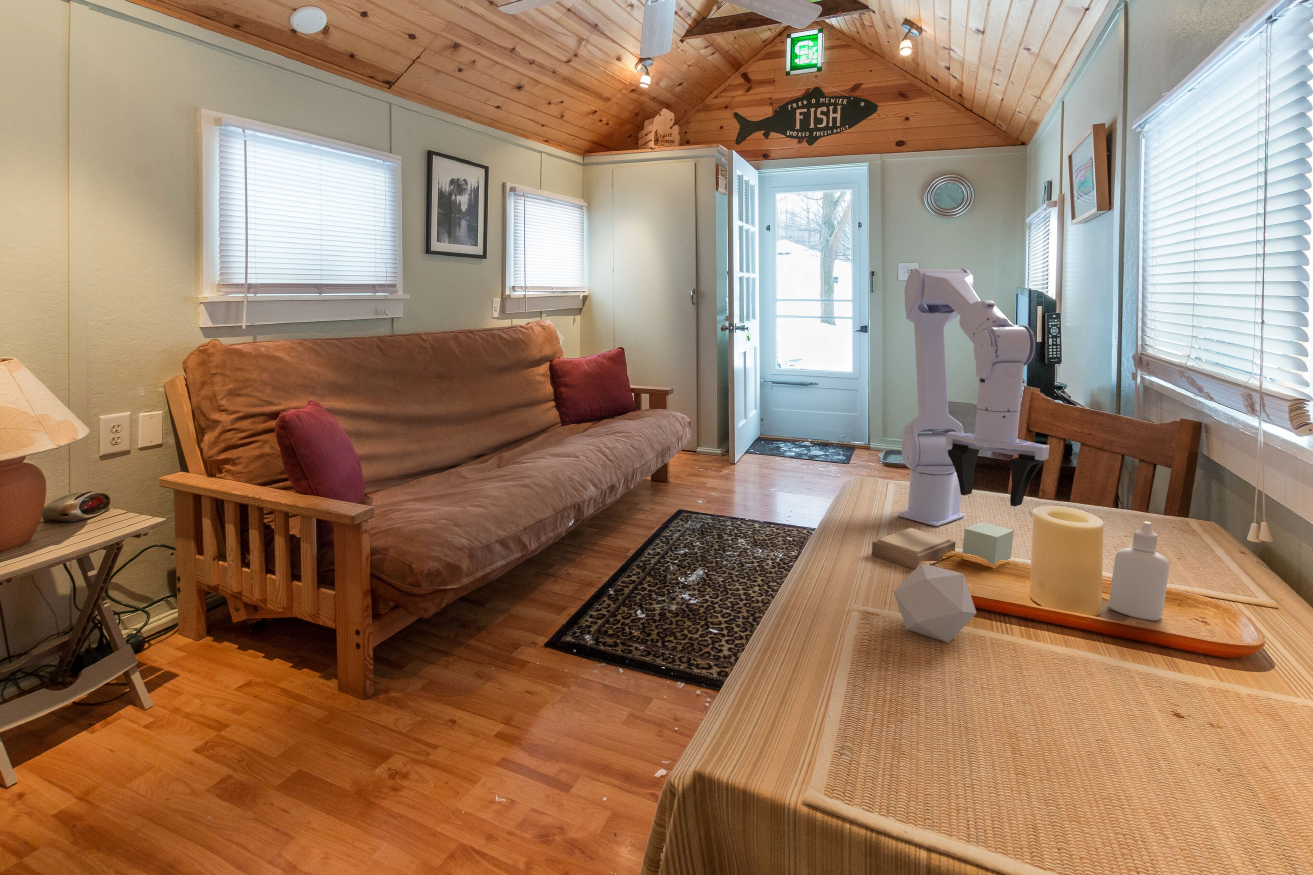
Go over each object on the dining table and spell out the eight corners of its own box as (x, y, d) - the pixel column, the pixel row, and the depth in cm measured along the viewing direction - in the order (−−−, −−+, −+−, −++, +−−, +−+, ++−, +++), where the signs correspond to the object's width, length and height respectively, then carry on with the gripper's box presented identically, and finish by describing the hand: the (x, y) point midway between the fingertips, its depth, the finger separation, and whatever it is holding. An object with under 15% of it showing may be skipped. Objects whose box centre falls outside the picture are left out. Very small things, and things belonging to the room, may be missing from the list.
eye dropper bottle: (1128, 601, 94) (1140, 514, 92) (1168, 620, 89) (1183, 527, 87) (1101, 605, 93) (1113, 517, 91) (1141, 624, 88) (1155, 531, 85)
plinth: (908, 541, 117) (909, 526, 117) (954, 555, 111) (955, 539, 110) (871, 554, 111) (872, 539, 111) (917, 570, 105) (919, 553, 104)
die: (984, 637, 86) (956, 560, 90) (985, 631, 78) (955, 547, 82) (915, 653, 88) (890, 576, 92) (910, 648, 81) (884, 565, 85)
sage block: (978, 552, 112) (981, 522, 111) (1010, 561, 109) (1013, 530, 108) (961, 559, 109) (964, 528, 108) (993, 569, 106) (997, 537, 105)
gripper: (937, 406, 108) (931, 493, 110) (1036, 417, 97) (1026, 514, 99) (962, 402, 112) (955, 486, 115) (1059, 413, 101) (1050, 506, 103)
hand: (990, 499), depth 107 cm, fingers open, 7 cm apart
